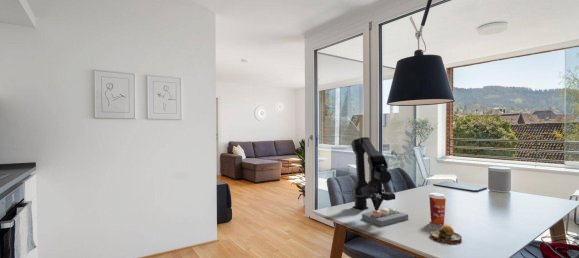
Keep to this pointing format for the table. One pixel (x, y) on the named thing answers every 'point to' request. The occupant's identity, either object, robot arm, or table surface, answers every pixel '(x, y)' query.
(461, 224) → the table surface
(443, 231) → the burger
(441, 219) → the paper cup
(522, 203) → the table surface
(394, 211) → the sage button
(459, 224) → the table surface
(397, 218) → the grey flat board
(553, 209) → the table surface
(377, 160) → the robot arm
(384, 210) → the cream button
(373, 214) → the pink button
